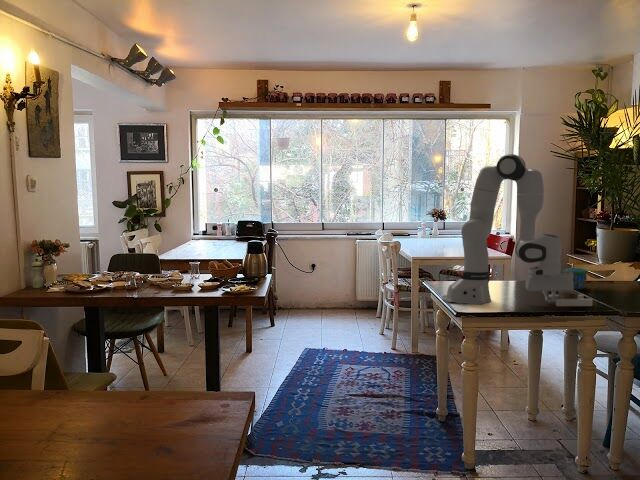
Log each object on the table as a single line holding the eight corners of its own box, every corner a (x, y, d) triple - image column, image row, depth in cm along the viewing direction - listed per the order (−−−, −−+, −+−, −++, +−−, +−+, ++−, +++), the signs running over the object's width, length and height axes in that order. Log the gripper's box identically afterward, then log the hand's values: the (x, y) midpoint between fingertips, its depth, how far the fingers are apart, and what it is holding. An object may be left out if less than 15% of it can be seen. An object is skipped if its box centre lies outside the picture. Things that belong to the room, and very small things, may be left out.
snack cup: (573, 291, 260) (574, 271, 259) (556, 288, 269) (557, 269, 268) (594, 288, 266) (595, 269, 265) (577, 285, 276) (577, 266, 275)
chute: (557, 308, 224) (557, 299, 224) (548, 303, 234) (548, 294, 234) (592, 308, 224) (592, 299, 223) (581, 303, 234) (582, 294, 233)
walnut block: (563, 305, 226) (564, 293, 226) (558, 302, 232) (558, 291, 232) (577, 305, 226) (577, 293, 225) (571, 302, 232) (571, 291, 231)
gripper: (570, 268, 230) (569, 298, 232) (524, 269, 231) (523, 299, 233) (576, 271, 224) (575, 301, 225) (529, 271, 225) (528, 302, 227)
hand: (549, 300), depth 229 cm, fingers closed
